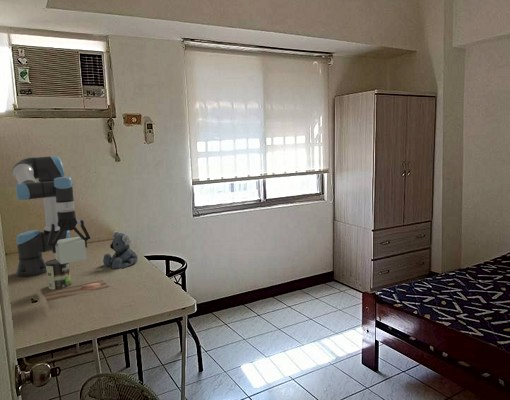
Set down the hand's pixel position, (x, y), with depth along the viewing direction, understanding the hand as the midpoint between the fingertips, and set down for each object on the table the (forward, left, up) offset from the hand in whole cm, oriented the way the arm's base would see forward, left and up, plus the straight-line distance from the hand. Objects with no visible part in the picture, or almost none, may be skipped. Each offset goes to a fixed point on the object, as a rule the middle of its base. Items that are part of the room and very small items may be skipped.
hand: (71, 257), depth 190 cm
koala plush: (-33, +33, -18) cm, 50 cm away
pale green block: (0, 0, -1) cm, 1 cm away
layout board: (0, +1, -18) cm, 18 cm away
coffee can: (-12, -4, -18) cm, 22 cm away
